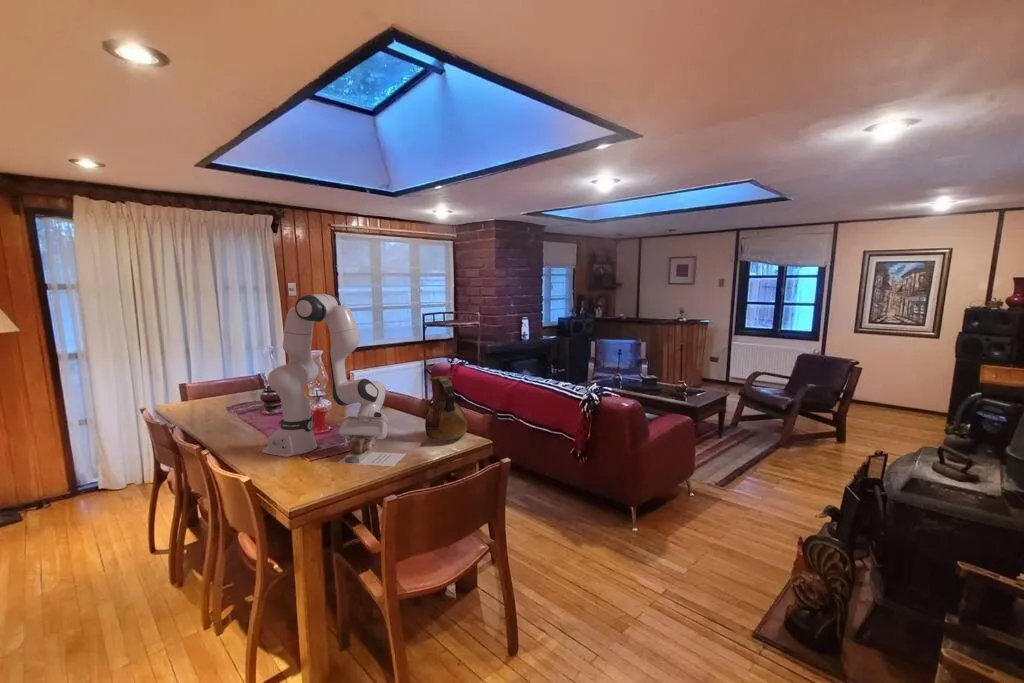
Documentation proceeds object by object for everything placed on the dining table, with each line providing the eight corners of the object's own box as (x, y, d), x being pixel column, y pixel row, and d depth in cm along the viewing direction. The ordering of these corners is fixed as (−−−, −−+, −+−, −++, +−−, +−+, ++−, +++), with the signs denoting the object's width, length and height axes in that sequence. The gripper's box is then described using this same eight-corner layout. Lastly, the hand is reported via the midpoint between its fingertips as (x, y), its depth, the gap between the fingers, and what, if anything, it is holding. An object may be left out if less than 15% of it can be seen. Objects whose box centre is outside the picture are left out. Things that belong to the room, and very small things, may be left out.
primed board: (337, 466, 177) (336, 462, 177) (353, 454, 190) (353, 450, 190) (393, 469, 174) (393, 466, 173) (406, 457, 186) (406, 453, 186)
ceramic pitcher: (456, 428, 222) (454, 370, 219) (475, 440, 206) (473, 377, 202) (419, 436, 212) (416, 375, 208) (436, 449, 195) (434, 382, 191)
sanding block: (345, 462, 178) (344, 443, 177) (358, 452, 188) (357, 434, 187) (359, 463, 177) (358, 444, 176) (371, 452, 187) (371, 434, 186)
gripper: (342, 412, 189) (330, 442, 180) (387, 414, 186) (378, 445, 177) (348, 419, 194) (337, 449, 185) (392, 421, 191) (383, 451, 182)
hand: (357, 447), depth 181 cm, fingers open, 8 cm apart
